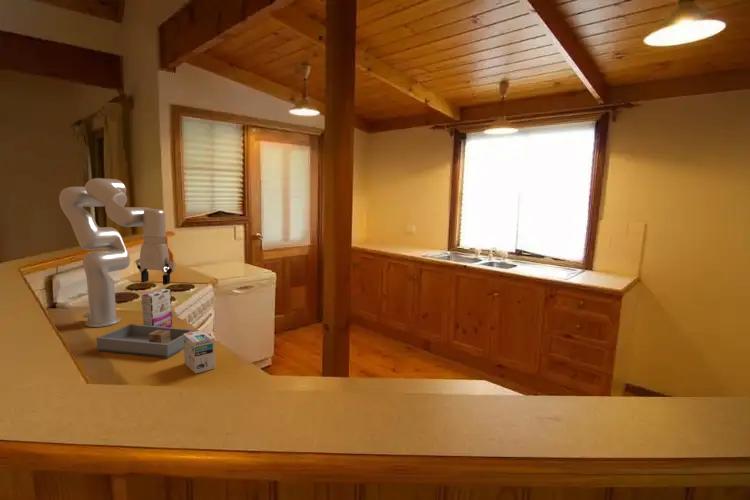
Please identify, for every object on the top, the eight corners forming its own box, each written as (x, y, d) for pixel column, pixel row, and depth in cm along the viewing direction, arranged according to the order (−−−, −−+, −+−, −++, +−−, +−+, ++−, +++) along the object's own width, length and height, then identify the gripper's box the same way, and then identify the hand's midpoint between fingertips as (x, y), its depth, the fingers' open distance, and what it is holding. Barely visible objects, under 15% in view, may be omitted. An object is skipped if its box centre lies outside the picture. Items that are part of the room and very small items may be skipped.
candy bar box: (162, 325, 170) (161, 288, 168) (172, 326, 169) (171, 289, 167) (142, 333, 160) (140, 294, 157) (153, 334, 159) (151, 295, 156)
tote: (97, 351, 141) (96, 338, 140) (131, 336, 156) (130, 324, 156) (167, 358, 137) (167, 344, 136) (195, 342, 152) (195, 329, 152)
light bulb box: (215, 368, 130) (215, 337, 129) (195, 374, 126) (194, 342, 124) (203, 358, 138) (202, 329, 136) (183, 363, 133) (182, 333, 132)
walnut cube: (149, 347, 144) (148, 334, 143) (158, 342, 148) (158, 329, 148) (161, 348, 143) (160, 335, 142) (170, 343, 148) (170, 330, 147)
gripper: (128, 239, 151) (129, 282, 154) (167, 243, 148) (168, 287, 151) (142, 237, 159) (143, 278, 161) (180, 241, 156) (181, 283, 158)
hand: (155, 282), depth 156 cm, fingers open, 9 cm apart
